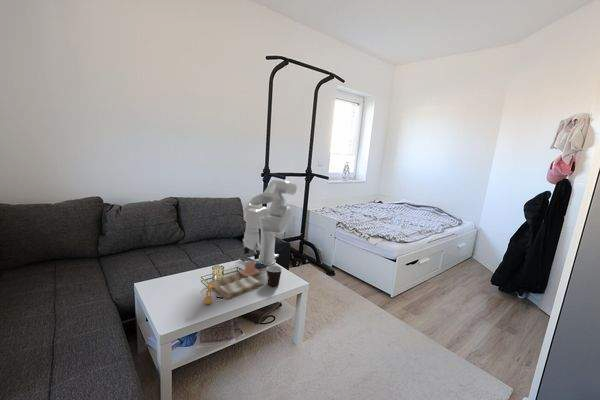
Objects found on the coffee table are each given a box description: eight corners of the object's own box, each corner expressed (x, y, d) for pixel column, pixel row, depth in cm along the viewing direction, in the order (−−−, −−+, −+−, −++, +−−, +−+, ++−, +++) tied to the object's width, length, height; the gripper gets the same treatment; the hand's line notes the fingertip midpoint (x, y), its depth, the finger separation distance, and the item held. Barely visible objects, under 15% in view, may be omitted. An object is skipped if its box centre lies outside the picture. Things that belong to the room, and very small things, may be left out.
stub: (252, 268, 174) (253, 258, 172) (260, 272, 169) (260, 261, 168) (239, 273, 167) (240, 262, 165) (246, 277, 162) (247, 266, 161)
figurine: (215, 299, 140) (216, 278, 138) (218, 306, 135) (219, 283, 133) (198, 303, 136) (198, 280, 134) (200, 309, 131) (200, 286, 129)
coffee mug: (279, 289, 156) (281, 272, 154) (264, 287, 156) (265, 271, 154) (281, 279, 167) (282, 263, 165) (267, 277, 167) (268, 262, 165)
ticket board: (244, 273, 170) (244, 269, 170) (263, 285, 158) (263, 281, 158) (208, 285, 153) (208, 281, 152) (226, 300, 141) (226, 295, 140)
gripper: (238, 226, 166) (238, 253, 170) (256, 235, 154) (255, 263, 158) (248, 224, 171) (247, 249, 175) (266, 232, 160) (265, 259, 164)
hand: (251, 256), depth 167 cm, fingers open, 9 cm apart
